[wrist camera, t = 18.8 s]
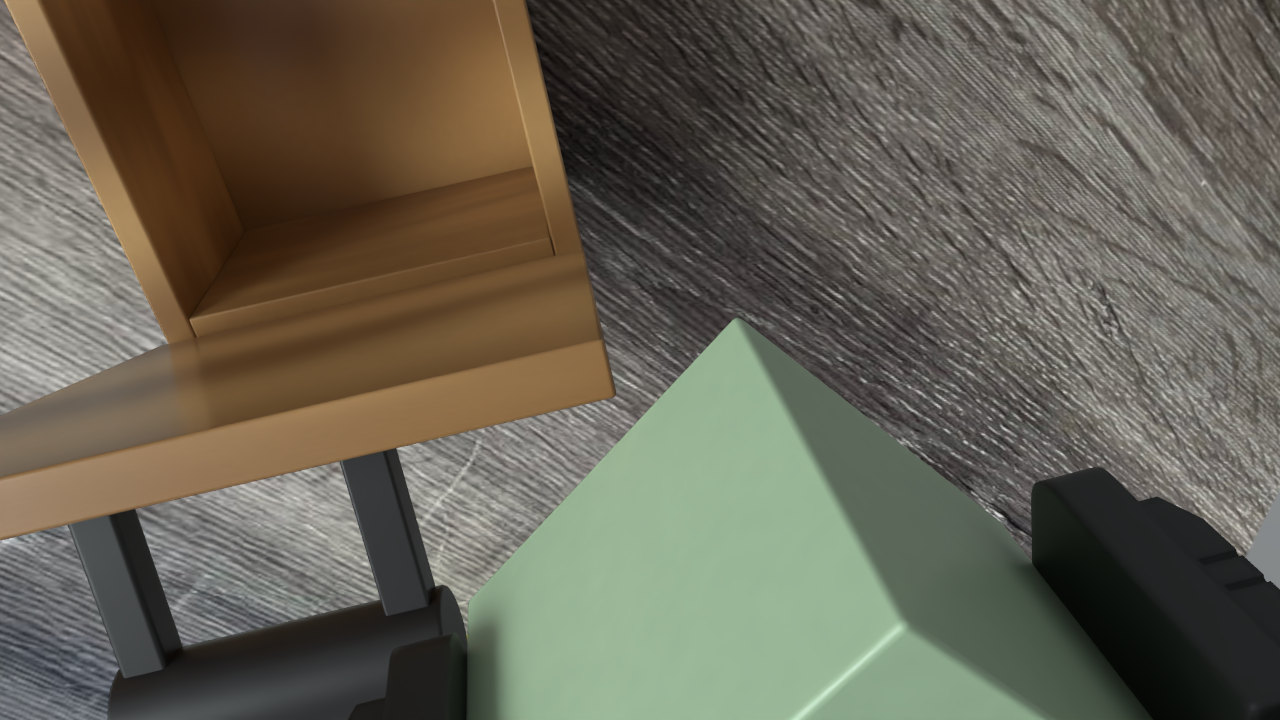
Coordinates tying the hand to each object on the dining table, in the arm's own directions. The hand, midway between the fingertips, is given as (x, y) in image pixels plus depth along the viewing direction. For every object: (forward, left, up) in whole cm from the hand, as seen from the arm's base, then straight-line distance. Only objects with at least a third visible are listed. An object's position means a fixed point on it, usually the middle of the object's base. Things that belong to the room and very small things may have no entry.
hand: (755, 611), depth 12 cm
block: (0, 0, -1) cm, 1 cm away
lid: (+5, -5, -9) cm, 12 cm away
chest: (+2, -8, -24) cm, 26 cm away
